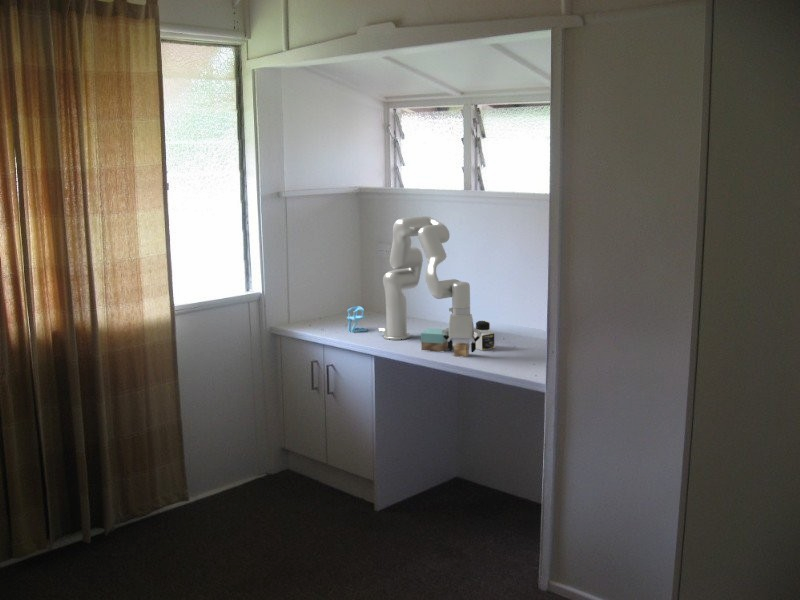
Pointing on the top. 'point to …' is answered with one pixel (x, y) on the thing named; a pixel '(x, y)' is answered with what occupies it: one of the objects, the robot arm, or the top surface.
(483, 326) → the medicine bottle
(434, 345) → the walnut slab
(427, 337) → the teal slab
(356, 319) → the chair
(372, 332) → the top surface
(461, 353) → the oak block
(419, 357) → the top surface
